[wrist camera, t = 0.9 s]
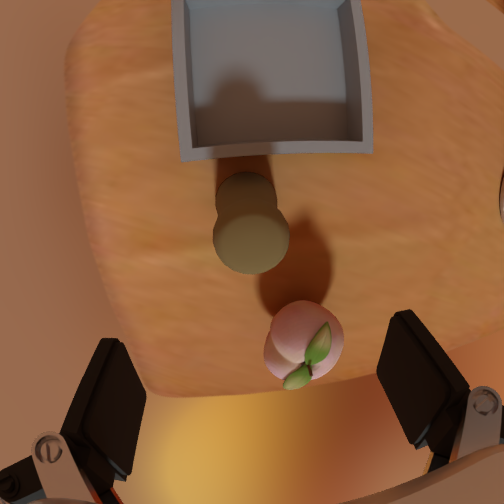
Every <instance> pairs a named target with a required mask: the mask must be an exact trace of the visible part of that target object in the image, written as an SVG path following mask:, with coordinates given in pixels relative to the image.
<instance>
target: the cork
mask: <svg viewBox="0 0 504 504" xmlns="http://www.w3.org/2000/svg"><path fill="white" fill-rule="evenodd" d="M216 209H217V213H218V218H217V221H216V223H215V226H214V229H213V244H214V247H215V250H216V253H217V255H218V256H219V258H220V259H221V260H222V262H223V263H224V264H225V265H226V266H228V267H229V268H230V269H232V270H234V271H236V272H239V273H242V274H259V273H263V272H266V271H268V270H270V269H272V268H273V267H275V266H276V265H277V264H278V263H279V262H280V261H281V260H282V259H283V258H284V256H285V254H286V252H287V250H288V246H289V238H290V232H289V227H288V223H287V221H286V220H285V218H284V216H283V215H282V213H281V211H280V210H278V209H277V197H276V193H275V190H274V188H273V186H272V185H271V183H270V182H269V181H268V180H267V179H265V178H264V177H263V176H261V175H258V174H256V173H251V172H242V173H238V174H234V175H232V176H231V177H229V178H227V179H226V180H225V181H224V182H223V183H222V185H221V186H220V187H219V189H218V192H217V194H216Z"/></svg>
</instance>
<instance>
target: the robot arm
mask: <svg viewBox="0 0 504 504" xmlns="http://www.w3.org/2000/svg"><path fill="white" fill-rule="evenodd" d="M500 210H501V217H502V220H503V223H504V177H503V182H502V186H501V193H500ZM377 376H378V379H379V381H380V383H381V384H382V386H383V388H384V391H385V393H386V395H387V397H388V399H389V401H390V403H391V405H392V407H393V409H394V411H395V413H396V415H397V418H398V420H399V422H400V424H401V426H402V428H403V431H404V433H405V435H406V437H407V439H408V441H409V443H410V444H414V446H415V449H416V450H417V449H420V448H422V447H425V446H427V445H428V446H429V448H430V450H431V451H430V454H429V458H428V460H427V463H426V466H425V469H424V472H423V475H422V476H420V477H418V478H415V479H413V480H411V481H408V482H406V483H403V484H400V485H398V486H395V487H393V488H390V489H387V490H384V491H381V492H378V493H375V494H372V495H368V496H365V497H362V498H358V499H355V500H351V501H348V502H343V503H339V504H504V406H503V405H502V400H501V398H500V396H499V394H498V393H497V392H496V391H495V390H494V389H492V388H490V387H487V386H479V387H476V388H474V389H473V390H472V391H471V390H470V389H469V387H470V386H469V384H468V383H467V381H466V380H465V379H464V377H463V376H462V374H461V373H460V372H459V370H458V369H457V368H456V366H455V365H454V363H453V362H452V361H451V359H450V358H449V357H448V356H447V354H446V353H445V351H444V350H443V349H442V347H441V346H440V345H439V343H438V342H437V341H436V340H435V338H434V337H433V336H432V334H431V333H430V332H429V331H428V329H427V328H426V327H425V326H424V324H423V323H422V322H421V321H420V319H419V318H418V317H417V316H416V314H415V313H414V312H413V311H412V310H410V309H409V310H404V311H399V312H396V313H395V314H394V317H391V319H390V322H389V326H388V330H387V334H386V338H385V342H384V345H383V349H382V352H381V356H380V359H379V362H378V365H377ZM145 403H146V391H145V389H144V387H143V385H142V383H141V381H140V379H139V377H138V375H137V372H136V370H135V368H134V366H133V364H132V361H131V359H130V357H129V354H128V352H127V350H126V347H125V345H124V344H123V343H122V342H120V341H119V340H118V339H117V338H102V339H101V340H100V342H99V344H98V346H97V348H96V350H95V352H94V354H93V356H92V358H91V361H90V363H89V365H88V367H87V369H86V372H85V374H84V376H83V377H82V380H81V382H80V384H79V386H78V389H77V391H76V393H75V396H74V398H73V401H72V403H71V405H70V408H69V410H68V413H67V415H66V418H65V420H64V423H63V426H62V428H61V431H60V433H56V432H50V431H49V432H45V433H42V434H41V435H39V436H38V437H37V438H36V439H35V440H34V442H33V444H32V449H31V453H32V455H31V456H29V457H27V458H25V459H23V460H21V461H19V462H17V463H15V464H13V465H11V466H9V467H7V468H5V469H3V470H1V471H0V504H124V503H123V502H122V501H121V499H120V497H119V496H118V494H117V493H116V491H115V490H114V488H113V483H114V480H120V481H125V482H126V478H127V475H130V474H131V472H132V467H133V461H134V456H135V450H136V445H137V440H138V435H139V430H140V426H141V421H142V416H143V412H144V407H145Z"/></svg>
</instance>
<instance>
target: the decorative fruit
mask: <svg viewBox="0 0 504 504" xmlns="http://www.w3.org/2000/svg"><path fill="white" fill-rule="evenodd" d="M343 345H344V335H343V329H342V327H341V324H340V323H339V321H338V320H337V318H336V317H335V316H334V315H333V314H332V313H331V312H330V311H328V310H327V309H325V308H324V307H322V306H321V305H319V304H317V303H314V302H312V301H307V300H299V301H295V302H292V303H290V304H288V305H286V306H284V307H283V308H282V309H281V310H280V311H279V312H278V313H277V314H276V315H275V317H274V318H273V319H272V322H271V326H270V332H269V333H268V336H267V338H266V342H265V346H264V361H265V364H266V366H267V368H268V369H269V370H270V371H271V373H273V374H274V375H275V376H276V377H278V378H280V379H282V380H285V381H284V383H283V388H285V389H289V390H293V389H298V388H300V387H302V386H304V385H306V384H307V383H308V382H309V381H310V380H313V379H316V378H319V377H321V376H323V375H324V374H326V373H327V372H328V371H330V370H331V369H332V368H333V366H334V365H335V364H336V362H337V360H338V358H339V356H340V354H341V352H342V349H343Z"/></svg>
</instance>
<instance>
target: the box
mask: <svg viewBox="0 0 504 504" xmlns="http://www.w3.org/2000/svg"><path fill="white" fill-rule="evenodd" d="M171 8H172V48H173V69H174V85H175V100H176V113H177V124H178V135H179V145H180V155H181V162H188V161H196V160H205V159H215V158H226V157H238V156H251V155H268V154H290V153H373V113H372V93H371V78H370V67H369V56H368V47H367V39H366V32H365V25H364V18H363V12H362V6H361V1H360V0H171Z"/></svg>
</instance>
